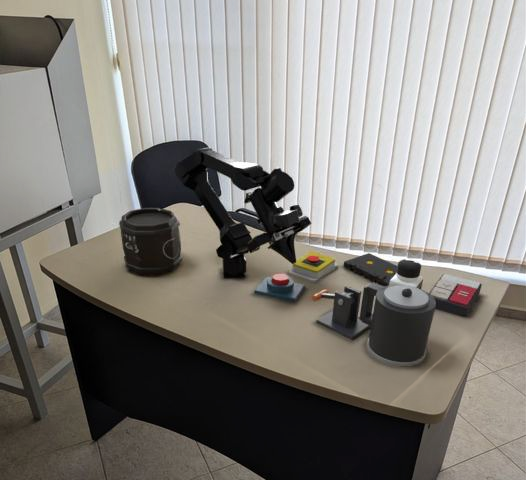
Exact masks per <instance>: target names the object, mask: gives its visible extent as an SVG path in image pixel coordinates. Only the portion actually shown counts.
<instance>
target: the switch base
mask: <svg viewBox="0 0 526 480" xmlns="http://www.w3.org/2000/svg"><path fill="white" fill-rule="evenodd" d="M344 292H352V293H354V297H355V302H354V303H352V304H351V300H352V297H350V296H348V295H346V294H343V293H344ZM334 294H335V296H334V299H333V307H332V310H331V311H329V312H327V313H325V314H323V315H322V316H320V317H318V318H317V319H315V320H316V321H315V323H316V324H317V325H320V326H322V327H323V328H326V329H328V330H330V331H332V332H334V333H336V334H338V335H340V336H342V337H344V338H346V339H349V340H350V341H353V340H354V339H356V338H357V337H358V336H360V335H361V334H363V333H365V332H366V331H368V330H370V329H371V326H369V325H367V324H365V323H363V322H362V321H361V320H359V318H360V316H359V313H360V312H359V311H360V306H361V299H362V291H361V290H359V289H357V288H355V287H352V286H349V285H345V286H344V289H343V292H341V291H338V290H336V291H335V292H334Z"/></svg>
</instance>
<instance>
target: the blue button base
mask: <svg viewBox="0 0 526 480" xmlns="http://www.w3.org/2000/svg"><path fill="white" fill-rule="evenodd" d="M272 280H273V275H272V276H269V277H268V276H265V278H264V279H262V281H261V282H260V283H259V284H258V285H257V286H256V288H255V289H254V292H253V294H254V295H258V296H263V297H268V298H272V299H276V300H281V301H285V302H286V301H287V302H290V303H296V302H297V300H298V299H299V297H300V296H301V295H302V293H303V292H304V290H305V288H306V284H303V283H298V282H294V280H293V278H291V277H289V276H288V284H286V285H275V284H273V282H272Z"/></svg>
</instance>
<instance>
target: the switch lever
mask: <svg viewBox="0 0 526 480" xmlns="http://www.w3.org/2000/svg"><path fill="white" fill-rule="evenodd" d="M329 292H330V291H329V290H328V289H327V288H326V289H325V288H324V289H323V290H321V291H319V292H317V293H315V294H314V295H312V297H311V299H312V301H313V302H317V301H319V300H321V299H328V300H334V296H335V293H329ZM342 293H343V294H346V295H348V296H350V297H352V300H351V304H352V303H354V302H355V297H354V293H352V292H344V291H343V292H342Z"/></svg>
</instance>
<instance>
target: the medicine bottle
mask: <svg viewBox="0 0 526 480" xmlns="http://www.w3.org/2000/svg"><path fill="white" fill-rule="evenodd" d="M396 266H397V272H396V274H395V276H394V277H393V278H392V279H391V280H390V284H389V286H390V285H406V286H412V287H416V288H419V289H422V287H423V282H424V277H423V276H421V271H422V264H421V263H420V262H419V261H417V260H415V259H412V258H411V259H410V258H405V259H401V260H399V261H398V262H397V265H396Z"/></svg>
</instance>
